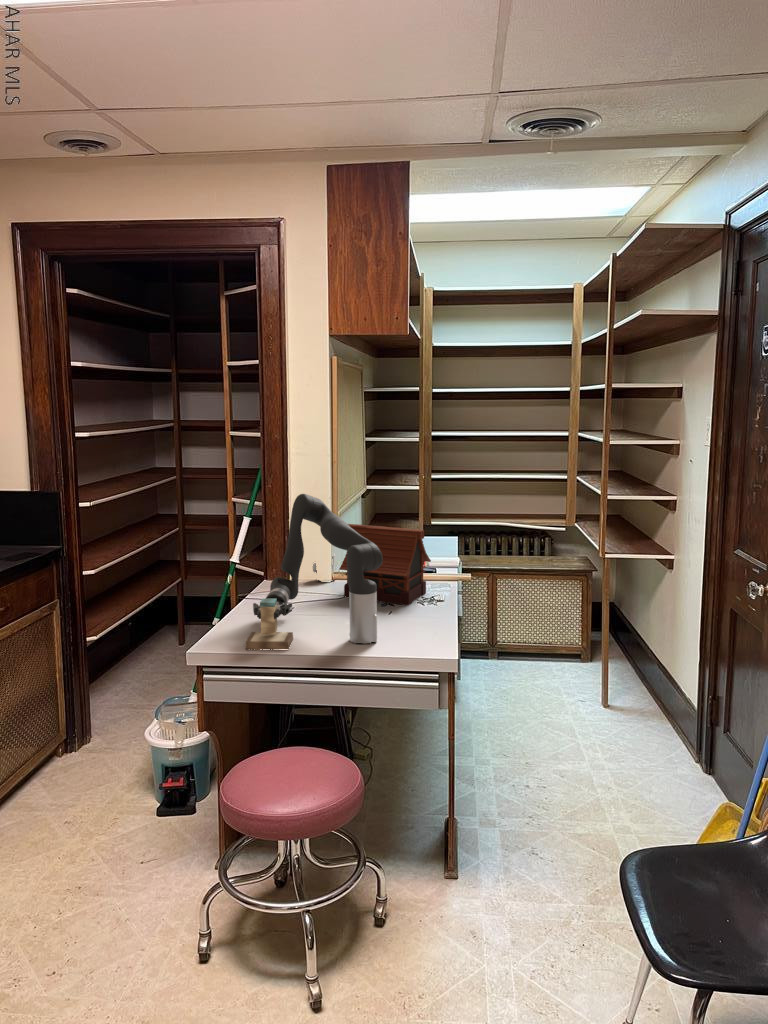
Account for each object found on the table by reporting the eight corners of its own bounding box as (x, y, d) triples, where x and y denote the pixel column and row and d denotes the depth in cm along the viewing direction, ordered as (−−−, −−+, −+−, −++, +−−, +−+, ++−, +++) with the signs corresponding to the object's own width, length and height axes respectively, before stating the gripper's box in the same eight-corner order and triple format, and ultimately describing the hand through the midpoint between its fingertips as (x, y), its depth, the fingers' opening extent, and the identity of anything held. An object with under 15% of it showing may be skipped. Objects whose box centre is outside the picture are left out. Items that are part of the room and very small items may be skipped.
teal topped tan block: (277, 630, 244) (276, 598, 242) (274, 634, 240) (274, 602, 238) (263, 629, 244) (262, 598, 242) (260, 634, 240) (259, 602, 238)
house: (434, 591, 309) (435, 524, 304) (409, 608, 283) (409, 536, 279) (360, 582, 323) (360, 518, 318) (330, 599, 297) (329, 529, 293)
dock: (293, 640, 247) (292, 631, 247) (288, 650, 237) (288, 641, 237) (252, 639, 248) (252, 631, 247) (245, 650, 238) (245, 641, 237)
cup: (331, 584, 321) (331, 557, 319) (312, 583, 322) (311, 556, 320) (338, 578, 331) (337, 552, 329) (318, 577, 332) (318, 551, 331)
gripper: (256, 590, 255) (245, 604, 238) (296, 590, 254) (288, 605, 237) (256, 611, 256) (246, 626, 239) (296, 611, 255) (289, 627, 239)
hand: (267, 616), depth 238 cm, fingers closed on teal topped tan block, 4 cm apart
